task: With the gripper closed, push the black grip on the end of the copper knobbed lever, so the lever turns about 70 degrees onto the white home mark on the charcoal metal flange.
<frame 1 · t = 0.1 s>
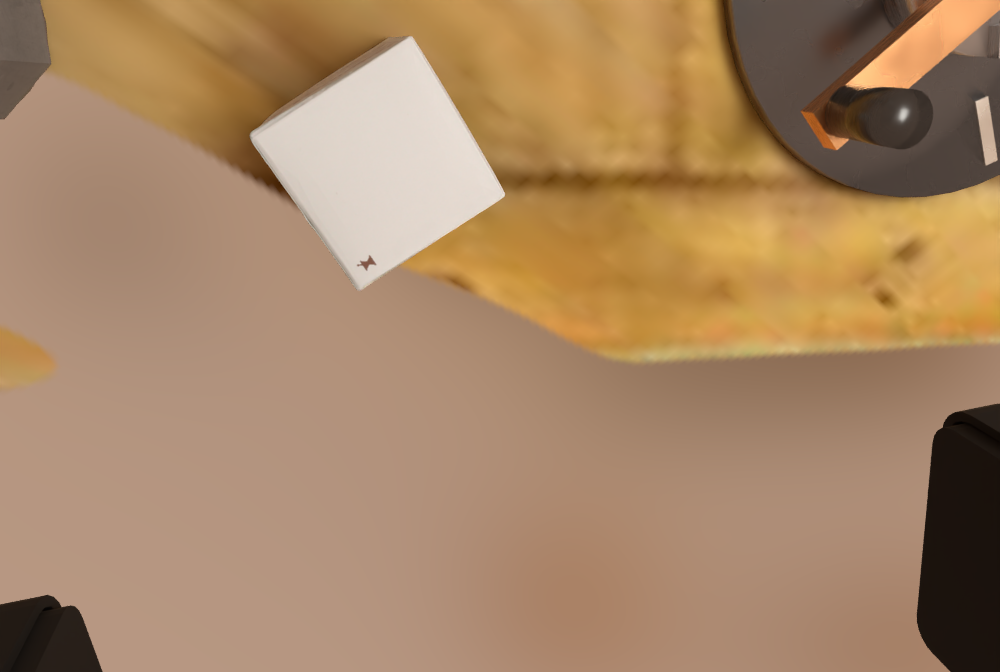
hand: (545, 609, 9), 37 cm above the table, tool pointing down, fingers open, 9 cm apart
supplement box: (370, 133, 43), on the table
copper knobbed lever: (966, 5, 40), point 6 cm above the table, hinge at 0.0°
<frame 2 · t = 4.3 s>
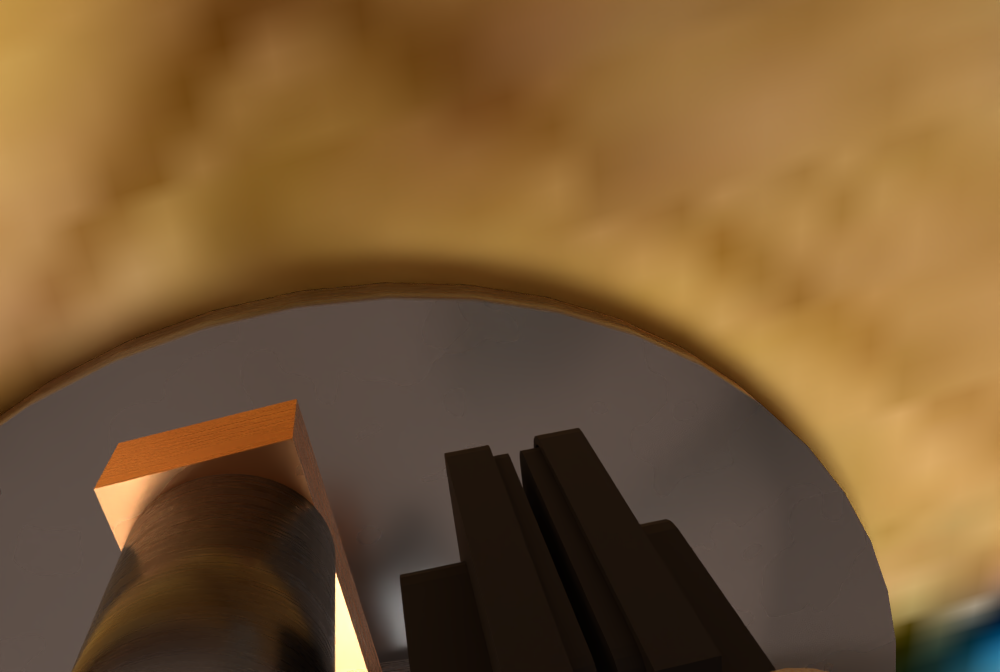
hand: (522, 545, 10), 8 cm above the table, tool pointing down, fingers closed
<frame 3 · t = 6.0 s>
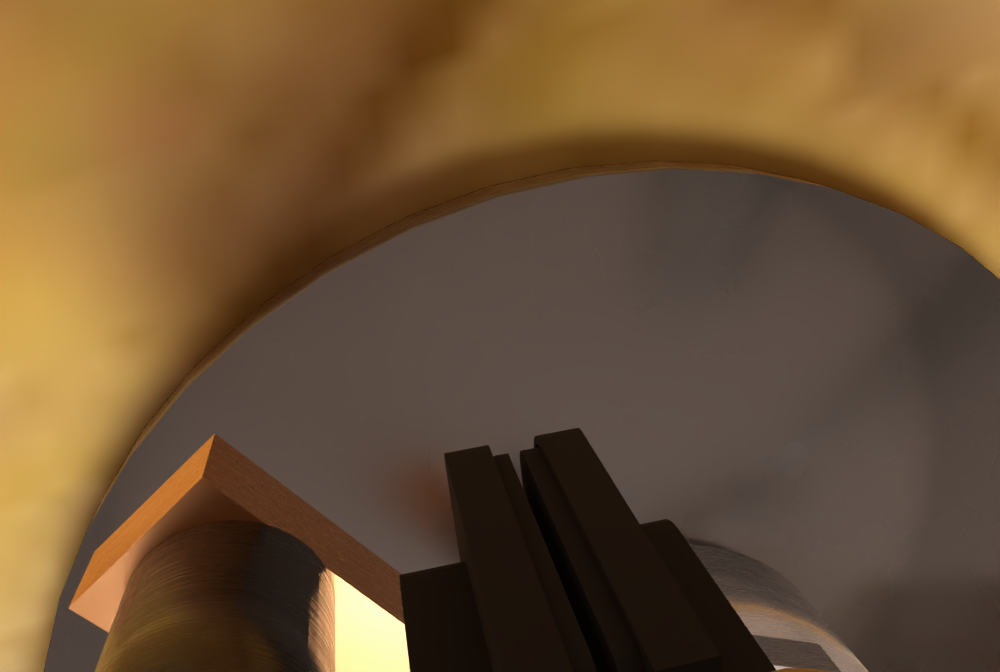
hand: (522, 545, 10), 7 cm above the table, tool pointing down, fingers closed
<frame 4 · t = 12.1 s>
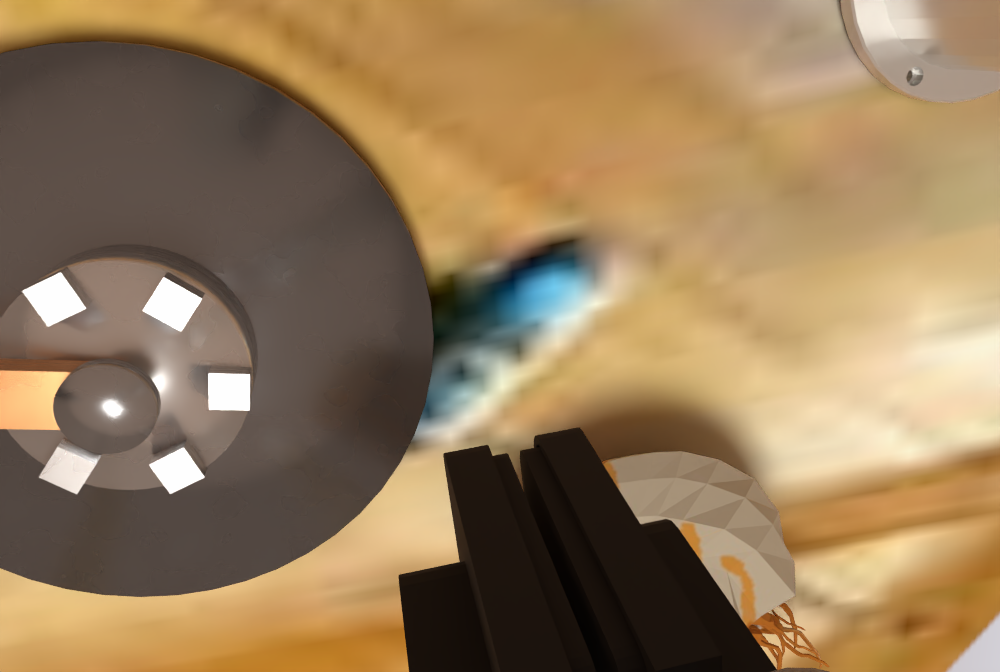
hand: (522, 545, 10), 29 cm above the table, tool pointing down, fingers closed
flange: (147, 342, 37), on the table
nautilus: (650, 552, 47), on the table
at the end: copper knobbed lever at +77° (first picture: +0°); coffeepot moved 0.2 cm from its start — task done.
